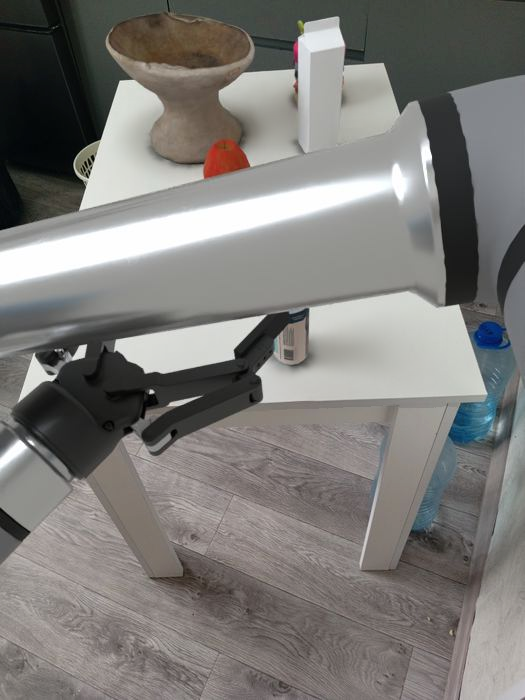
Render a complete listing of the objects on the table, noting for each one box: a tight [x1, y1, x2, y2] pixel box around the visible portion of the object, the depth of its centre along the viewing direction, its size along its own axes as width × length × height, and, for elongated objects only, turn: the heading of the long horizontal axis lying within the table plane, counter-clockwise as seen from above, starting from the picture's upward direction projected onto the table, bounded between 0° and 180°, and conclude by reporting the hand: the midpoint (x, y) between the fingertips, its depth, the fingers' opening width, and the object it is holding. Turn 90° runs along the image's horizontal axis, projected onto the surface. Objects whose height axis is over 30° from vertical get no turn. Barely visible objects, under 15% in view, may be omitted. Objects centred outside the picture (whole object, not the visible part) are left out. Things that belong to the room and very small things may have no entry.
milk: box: [297, 16, 346, 153], centre depth 89 cm, size 6×6×22 cm
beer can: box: [273, 308, 310, 366], centre depth 65 cm, size 5×5×12 cm
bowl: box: [105, 10, 256, 164], centre depth 94 cm, size 26×25×20 cm
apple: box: [202, 139, 251, 179], centre depth 86 cm, size 8×8×11 cm
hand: (226, 279), depth 47 cm, fingers open, 13 cm apart
